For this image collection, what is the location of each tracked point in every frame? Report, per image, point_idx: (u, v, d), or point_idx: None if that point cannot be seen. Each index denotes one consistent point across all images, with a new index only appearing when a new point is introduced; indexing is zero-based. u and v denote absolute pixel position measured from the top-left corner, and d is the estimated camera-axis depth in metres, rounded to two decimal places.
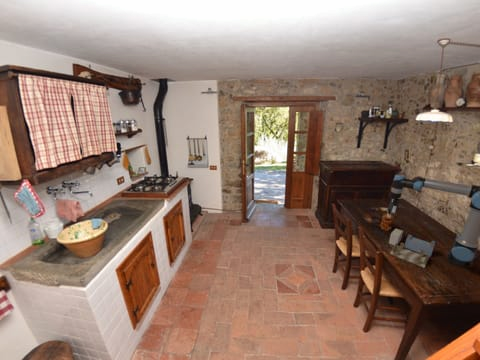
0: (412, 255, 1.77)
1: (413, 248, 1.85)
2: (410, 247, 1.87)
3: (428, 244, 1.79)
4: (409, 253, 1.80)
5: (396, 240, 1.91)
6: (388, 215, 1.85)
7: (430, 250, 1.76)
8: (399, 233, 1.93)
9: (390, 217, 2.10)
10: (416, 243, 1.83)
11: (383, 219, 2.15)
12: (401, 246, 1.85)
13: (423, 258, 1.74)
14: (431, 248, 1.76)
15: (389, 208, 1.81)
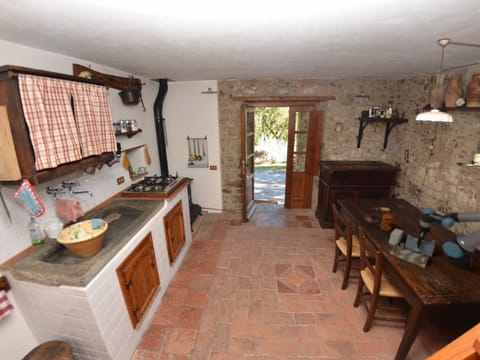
0: (412, 255, 1.77)
1: (414, 248, 1.85)
2: (411, 247, 1.86)
3: (428, 243, 1.80)
4: (409, 253, 1.80)
5: (396, 240, 1.91)
6: (417, 249, 1.83)
7: (431, 249, 1.77)
8: (399, 233, 1.93)
9: (390, 217, 2.10)
10: None
11: (383, 219, 2.15)
12: (401, 246, 1.85)
13: (423, 258, 1.74)
14: (432, 247, 1.76)
15: (418, 243, 1.79)
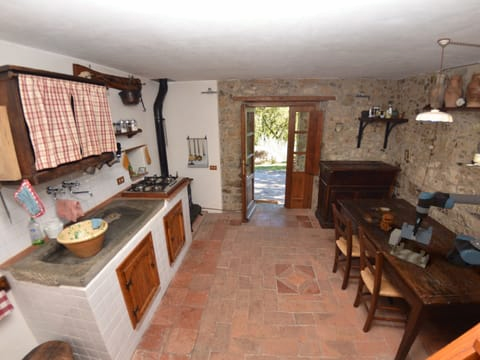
0: (412, 255, 1.77)
1: (410, 236, 1.71)
2: (406, 235, 1.73)
3: (425, 231, 1.67)
4: (409, 253, 1.80)
5: (396, 240, 1.91)
6: (413, 237, 1.69)
7: (429, 237, 1.64)
8: (399, 233, 1.93)
9: (390, 217, 2.10)
10: None
11: (383, 219, 2.15)
12: (401, 246, 1.85)
13: (423, 258, 1.74)
14: (429, 235, 1.63)
15: (414, 230, 1.65)
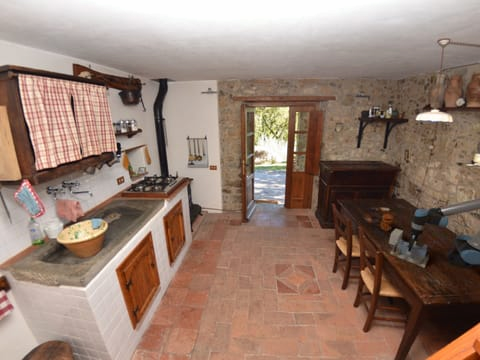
0: None
1: (405, 253, 1.76)
2: (402, 252, 1.78)
3: (420, 248, 1.71)
4: None
5: (396, 240, 1.91)
6: (408, 252, 1.72)
7: (423, 254, 1.68)
8: (399, 233, 1.93)
9: (390, 217, 2.10)
10: None
11: (383, 219, 2.15)
12: None
13: None
14: (424, 253, 1.68)
15: (410, 245, 1.68)
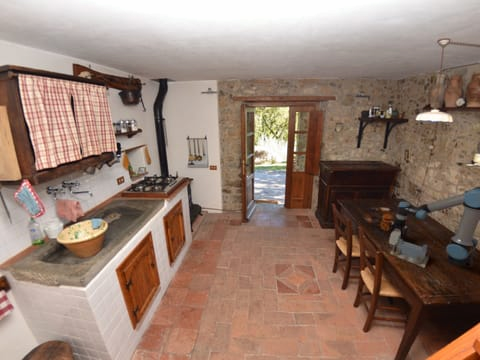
0: None
1: (405, 253, 1.76)
2: (402, 252, 1.78)
3: (420, 248, 1.71)
4: None
5: (396, 240, 1.91)
6: None
7: (423, 254, 1.68)
8: (399, 233, 1.93)
9: (390, 217, 2.10)
10: (408, 248, 1.74)
11: (383, 219, 2.15)
12: None
13: None
14: (424, 253, 1.68)
15: None
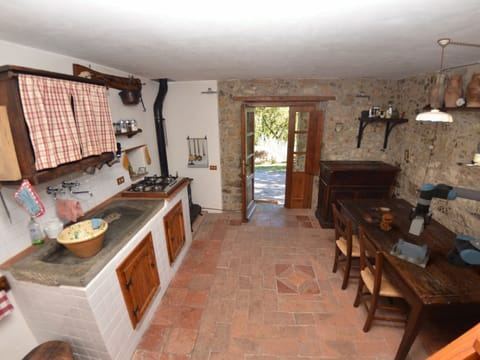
0: None
1: (405, 253, 1.76)
2: (402, 252, 1.78)
3: (420, 248, 1.71)
4: None
5: (418, 229, 1.64)
6: None
7: (423, 254, 1.68)
8: (422, 221, 1.66)
9: (390, 217, 2.10)
10: (408, 248, 1.74)
11: (383, 219, 2.15)
12: None
13: None
14: (424, 253, 1.68)
15: (409, 216, 1.73)
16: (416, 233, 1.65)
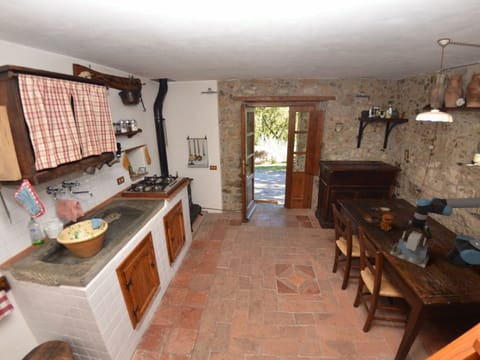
0: None
1: (406, 253, 1.76)
2: (402, 252, 1.78)
3: (420, 248, 1.71)
4: None
5: (414, 245, 1.68)
6: (403, 235, 1.79)
7: (424, 255, 1.68)
8: (418, 236, 1.70)
9: (390, 217, 2.10)
10: None
11: (383, 219, 2.15)
12: None
13: None
14: (424, 253, 1.68)
15: None
16: (412, 248, 1.69)
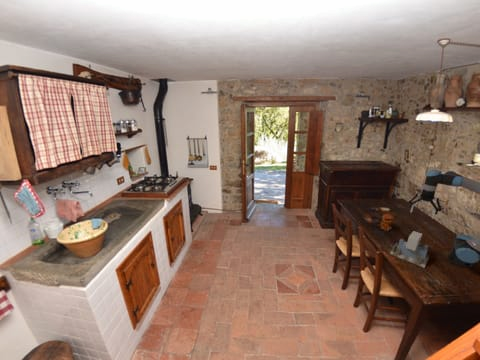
0: None
1: (406, 253, 1.76)
2: (402, 252, 1.78)
3: (421, 249, 1.71)
4: None
5: (415, 245, 1.68)
6: (411, 209, 1.75)
7: (424, 255, 1.68)
8: (418, 236, 1.70)
9: (390, 217, 2.10)
10: None
11: (383, 219, 2.15)
12: None
13: None
14: (424, 253, 1.68)
15: None
16: (412, 248, 1.69)
